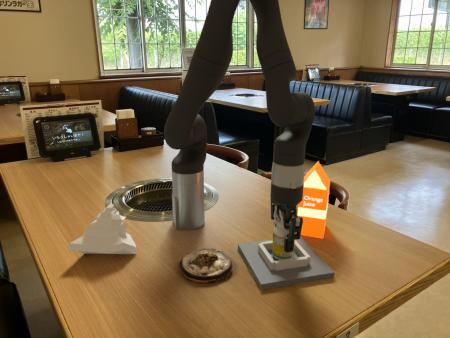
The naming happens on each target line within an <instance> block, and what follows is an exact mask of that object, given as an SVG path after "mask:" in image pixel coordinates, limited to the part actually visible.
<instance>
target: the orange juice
mask: <svg viewBox="0 0 450 338" xmlns="http://www.w3.org/2000/svg"><path fill="white" fill-rule="evenodd" d="M330 186H331V179H330V178H329V176H328V175H327V173H326V171H325V169H324V168H323V167H322V165H321V164H320V161H316V163H315V164H314V165H313V166H312V167H311V168H310V169H309V171H307V173H305V176H304V189H303V200H302V201H301V202H300V203H299V204H298V205H297V216H298V217H302V218H303V225H302V230H301V236H304V237H311V238H316V239H324V236H325V231H326V226H327V218H328V217H327V215H328V208H329V195H330Z"/></svg>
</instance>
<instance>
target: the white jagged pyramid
mask: <svg viewBox="0 0 450 338" xmlns="http://www.w3.org/2000/svg"><path fill="white" fill-rule="evenodd" d="M126 218H127V216H124V215H121V214H120V210H118V209H117V208H116V206H115V204H114V203H112V202H110V203H108V205H107V206H106V207H105V208H104V210H102V211H101V212H99V214H98V215H97V216H96V219H95V220H94V221H92V222H91V223H90V224H89V225H88V226H87V227H86V228H85V229H84V233H83V235H81V236H80V237H78V238H76V239H74V240H73V241H70V242H69V246H68V247H69V249H68V251H71V252H76V253H80V254H85V255H86V254H87V255H89V254H91V255H92V254H93V255H137V250H138V248H137V245H136V243H135V241H134V240H133V238H132V235H131V234H129V233H128V232H127V228H128V227H127V226H128V225H127V224H126V223H125V224H124V222H125V219H126Z"/></svg>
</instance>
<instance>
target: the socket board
mask: <svg viewBox="0 0 450 338" xmlns="http://www.w3.org/2000/svg"><path fill="white" fill-rule="evenodd" d="M272 245H273V238H272V239H266V240H265V239H264V240H258V241H249V242H244V243H243V242H242V243H241V242H240V243H237V250H238V252H239V254H240V255H241V257H242V258H243V260H244V262H245V264H246V266H247V268H248V269H249V271H250V273H251V275H252V276H253V279H254V280H255V282H256V283H257V285H258V287H259V289H260V290H261V291H263V290H264V291H265V290H268V289H275V288H281V287H287V286H293V285H294V286H295V285H299V284H304V283H312V282H316V281H323V280H328V279H334V278H335V271H334V270H333V269H332V267H330V266H329V265H328V263H327V262H326V261H325V260H324V259H323V258H322V257H321V256H320V255H319V254H318V253H317V252H316V251H315V250H314V249H313V248H312V246H310V244H309V243H308V241H306V240H305V239H304V238H303V237H302V235H301V236H300V239H298V240H295V244H294V256H293V258H291V259H285V260H278V259H276V258H274V257H273V255H272Z"/></svg>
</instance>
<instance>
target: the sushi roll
mask: <svg viewBox="0 0 450 338" xmlns="http://www.w3.org/2000/svg"><path fill="white" fill-rule="evenodd" d="M232 262H233V261H232V260H231V259H230V256H229V255H228V254H227V253H226V252H224V251H223V250H222V251H220V250H217V248H201V249H196V250H193V251H192V252H191V251H190V252H188V253H187V254H185V255H183V257H182V258H181V260H180V262H179V265H180V266H179V267H180V270H181V273H182V276H183V277H184V278H186V280H187V281H190V282H193V283H198V284H204V283H208V284H210V283H215V284H217V282H218V281H220V280H222V279H226V280H227V281H229V278H228V277H229V276H230V275H231V273H232V270H233V263H232Z"/></svg>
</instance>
